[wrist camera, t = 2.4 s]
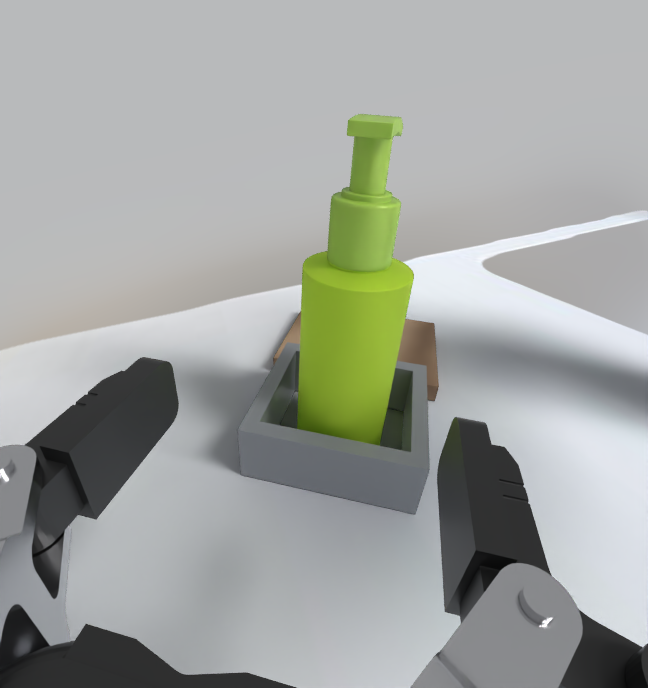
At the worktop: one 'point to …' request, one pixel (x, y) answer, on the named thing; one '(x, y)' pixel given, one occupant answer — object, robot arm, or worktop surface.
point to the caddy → (338, 443)
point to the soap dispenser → (355, 298)
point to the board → (412, 348)
